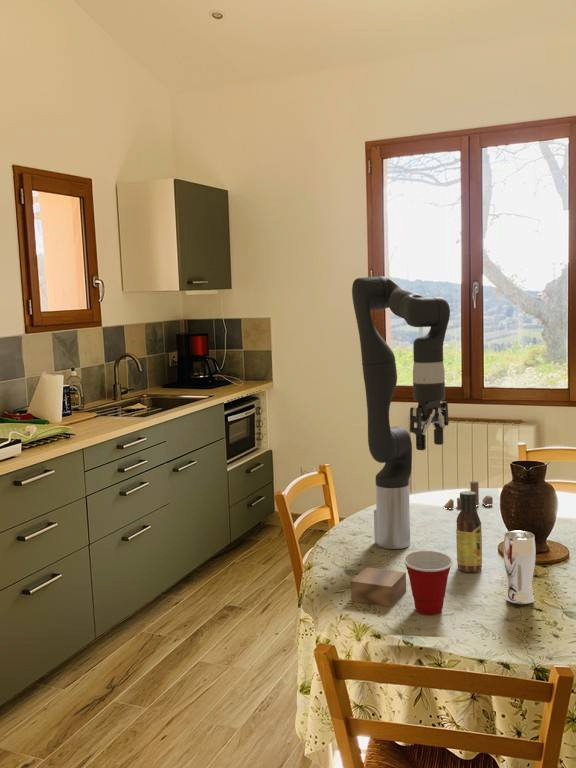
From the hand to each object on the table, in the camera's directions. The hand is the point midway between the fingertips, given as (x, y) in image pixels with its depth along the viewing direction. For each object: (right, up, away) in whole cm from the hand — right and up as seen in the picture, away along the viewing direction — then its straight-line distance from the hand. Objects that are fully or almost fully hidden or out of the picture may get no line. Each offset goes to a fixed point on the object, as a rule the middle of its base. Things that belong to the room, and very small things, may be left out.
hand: (430, 447), depth 182 cm
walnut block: (-13, -35, -6) cm, 38 cm away
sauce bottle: (+12, -32, +9) cm, 35 cm away
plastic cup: (-3, -35, -16) cm, 39 cm away
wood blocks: (+19, -27, +60) cm, 68 cm away
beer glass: (+18, -34, -11) cm, 40 cm away
